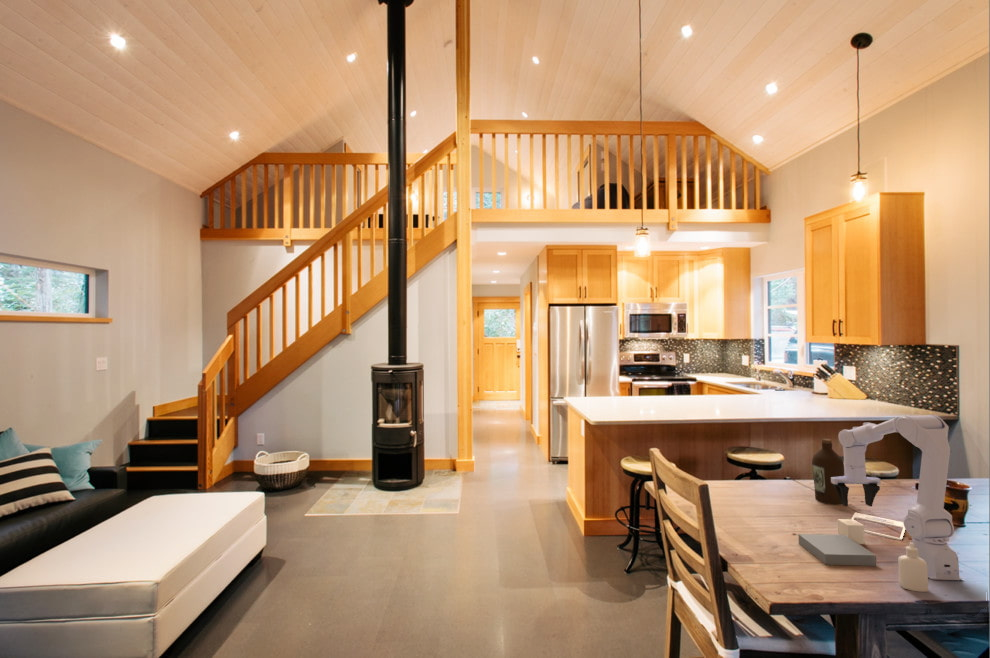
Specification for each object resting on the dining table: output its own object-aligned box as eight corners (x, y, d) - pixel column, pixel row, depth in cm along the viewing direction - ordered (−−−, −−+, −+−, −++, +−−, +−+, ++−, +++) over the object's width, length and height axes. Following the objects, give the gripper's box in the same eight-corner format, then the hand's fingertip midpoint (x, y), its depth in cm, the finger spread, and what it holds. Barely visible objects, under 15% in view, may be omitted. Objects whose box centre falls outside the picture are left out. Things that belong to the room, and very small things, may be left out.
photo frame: (907, 522, 160) (901, 538, 147) (907, 525, 160) (902, 542, 147) (855, 511, 170) (846, 526, 158) (855, 514, 170) (846, 529, 158)
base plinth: (876, 565, 132) (876, 555, 132) (825, 564, 134) (825, 554, 134) (844, 544, 146) (844, 534, 146) (798, 543, 148) (798, 533, 148)
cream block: (865, 544, 146) (864, 525, 146) (848, 543, 146) (847, 525, 147) (854, 537, 151) (853, 519, 151) (838, 537, 151) (837, 519, 152)
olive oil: (833, 496, 189) (831, 436, 189) (852, 505, 178) (849, 442, 179) (807, 496, 189) (805, 436, 190) (824, 505, 179) (822, 442, 179)
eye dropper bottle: (901, 581, 124) (899, 537, 124) (929, 589, 119) (927, 543, 120) (898, 587, 121) (895, 541, 121) (926, 595, 117) (924, 549, 117)
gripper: (869, 462, 157) (871, 501, 157) (824, 461, 159) (826, 500, 158) (884, 467, 150) (886, 508, 150) (837, 467, 152) (839, 508, 151)
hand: (856, 505), depth 153 cm, fingers open, 7 cm apart
